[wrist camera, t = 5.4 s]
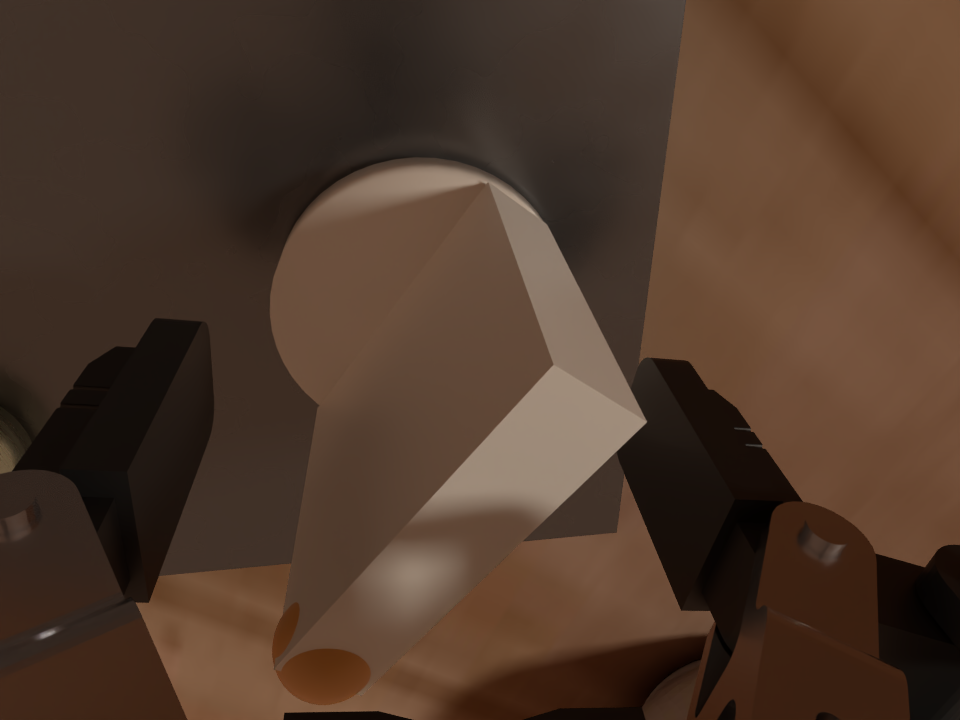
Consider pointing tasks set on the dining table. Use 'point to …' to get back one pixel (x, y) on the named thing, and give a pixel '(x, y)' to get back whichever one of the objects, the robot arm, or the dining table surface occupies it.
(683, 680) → the teacup
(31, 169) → the levelling base
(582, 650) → the dining table surface
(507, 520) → the knob
